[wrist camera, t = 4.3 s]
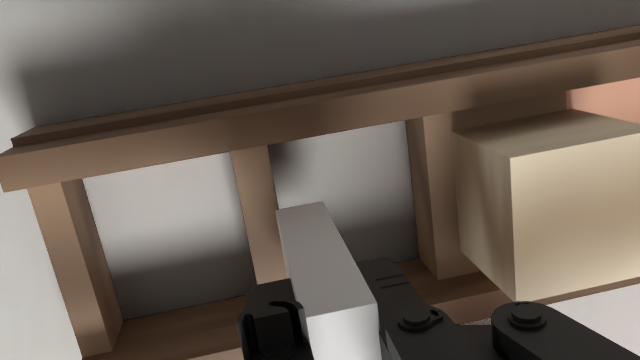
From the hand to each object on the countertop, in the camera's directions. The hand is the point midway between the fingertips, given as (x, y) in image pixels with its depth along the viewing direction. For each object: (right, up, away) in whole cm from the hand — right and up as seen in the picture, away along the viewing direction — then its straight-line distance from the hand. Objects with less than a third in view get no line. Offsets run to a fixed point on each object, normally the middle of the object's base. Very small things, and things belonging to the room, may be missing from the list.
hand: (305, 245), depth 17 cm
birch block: (+7, +2, +2) cm, 8 cm away
